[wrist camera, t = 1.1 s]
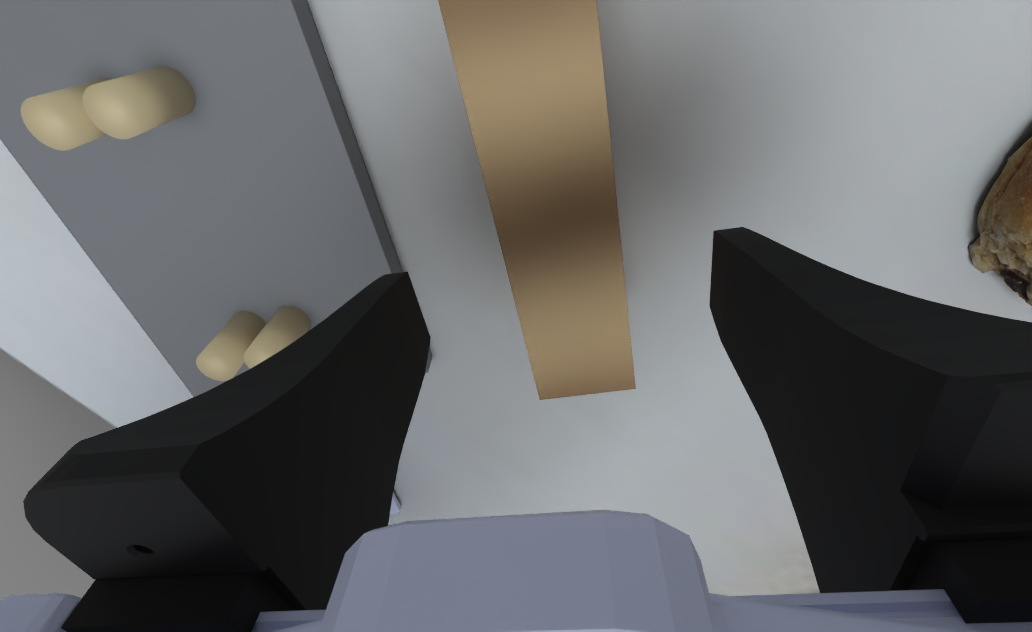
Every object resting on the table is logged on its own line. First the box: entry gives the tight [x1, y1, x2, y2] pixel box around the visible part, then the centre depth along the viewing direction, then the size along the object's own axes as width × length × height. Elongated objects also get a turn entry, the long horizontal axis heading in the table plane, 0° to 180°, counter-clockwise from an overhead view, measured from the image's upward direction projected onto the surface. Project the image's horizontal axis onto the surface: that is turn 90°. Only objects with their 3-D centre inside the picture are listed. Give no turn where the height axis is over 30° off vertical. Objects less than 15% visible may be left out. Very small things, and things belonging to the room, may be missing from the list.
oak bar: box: [438, 0, 636, 400], centre depth 17 cm, size 14×4×6 cm, turn 12°
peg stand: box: [0, 0, 432, 396], centre depth 20 cm, size 18×13×4 cm
